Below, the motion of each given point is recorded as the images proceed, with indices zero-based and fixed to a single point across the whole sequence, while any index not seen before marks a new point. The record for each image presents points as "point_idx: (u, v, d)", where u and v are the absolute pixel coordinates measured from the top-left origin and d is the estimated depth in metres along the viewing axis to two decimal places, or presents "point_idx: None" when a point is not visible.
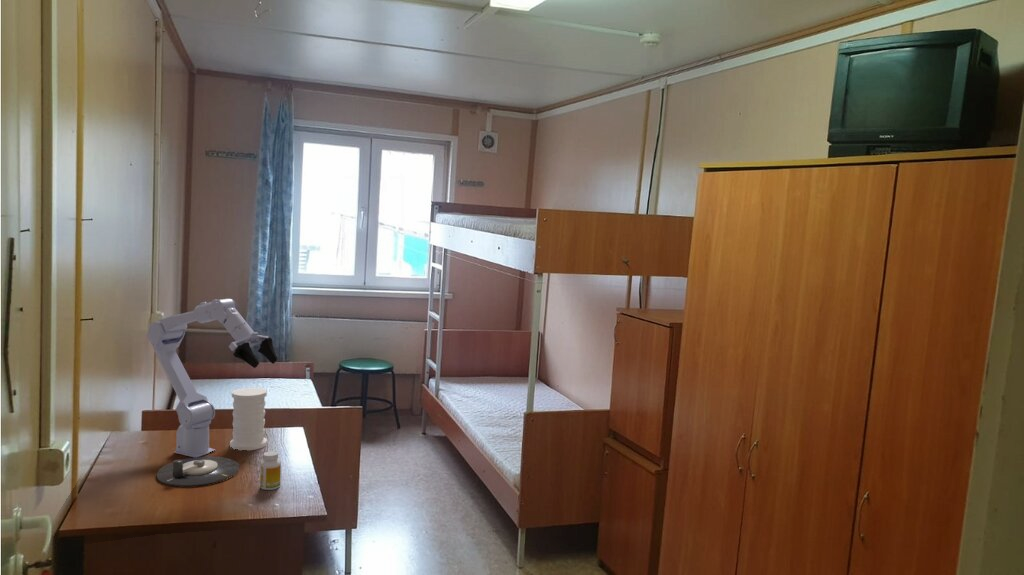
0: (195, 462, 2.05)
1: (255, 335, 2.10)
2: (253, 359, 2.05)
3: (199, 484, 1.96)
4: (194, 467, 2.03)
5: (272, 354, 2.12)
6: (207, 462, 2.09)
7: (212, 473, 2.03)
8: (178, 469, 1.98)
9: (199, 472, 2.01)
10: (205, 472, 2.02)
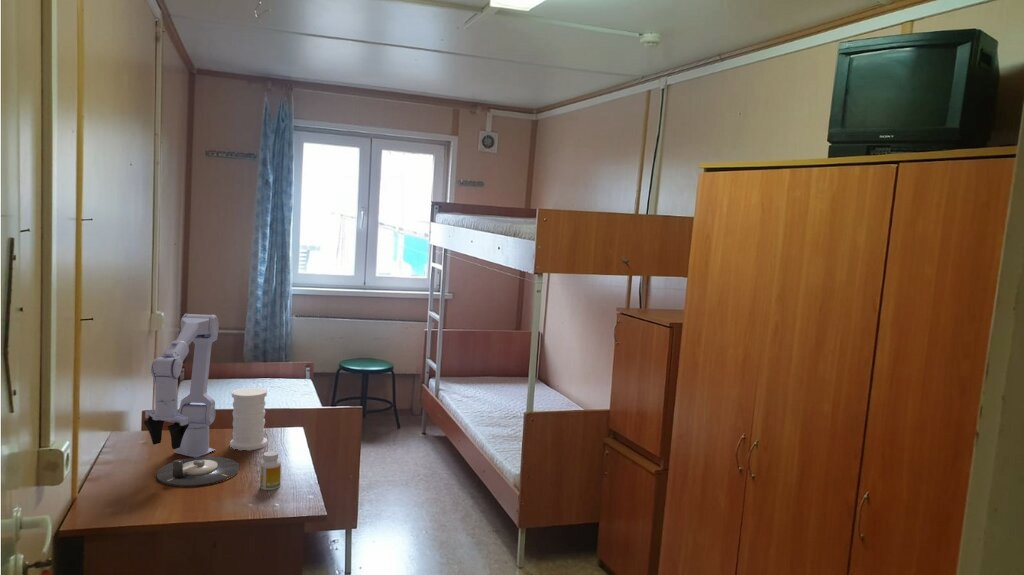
0: (195, 462, 2.05)
1: None
2: None
3: (199, 484, 1.96)
4: (194, 467, 2.03)
5: None
6: (207, 462, 2.09)
7: (212, 473, 2.03)
8: (178, 469, 1.98)
9: (199, 472, 2.01)
10: (205, 472, 2.02)
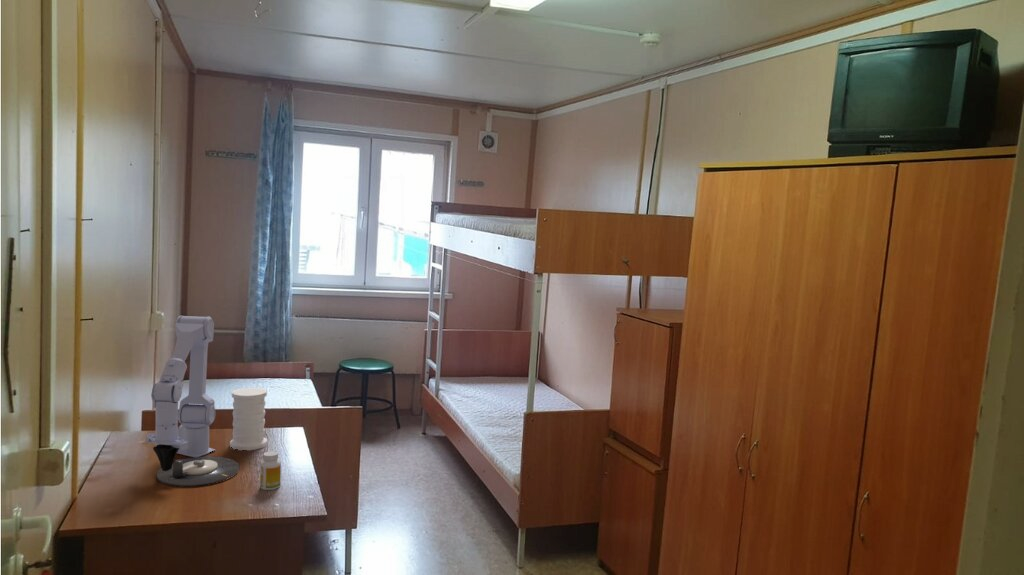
0: (195, 462, 2.05)
1: None
2: None
3: (199, 484, 1.96)
4: (194, 467, 2.03)
5: None
6: (207, 462, 2.09)
7: (212, 473, 2.03)
8: (178, 469, 1.98)
9: (199, 472, 2.01)
10: (205, 472, 2.02)
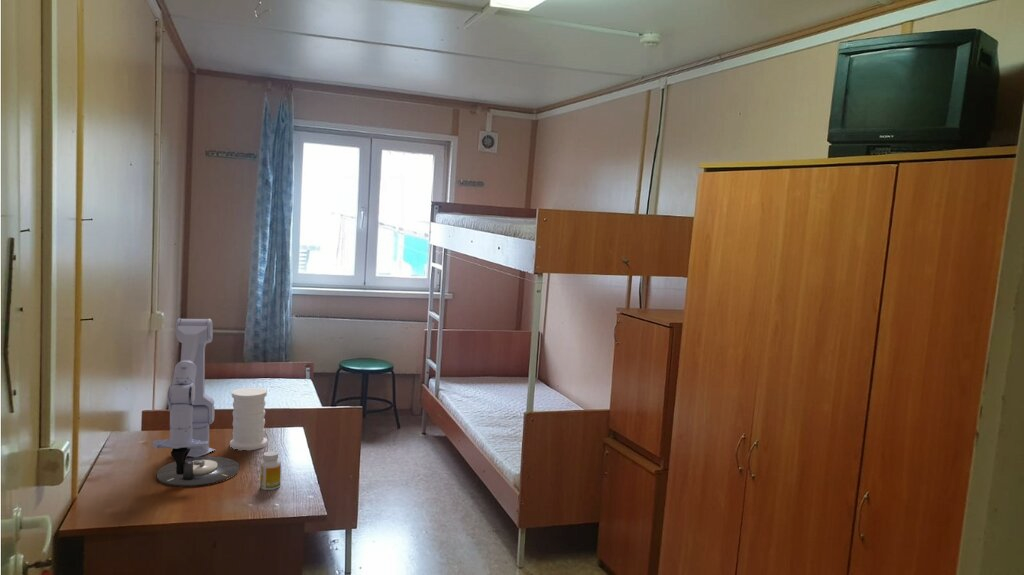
0: (196, 462, 2.05)
1: None
2: None
3: (199, 484, 1.96)
4: (198, 467, 2.04)
5: None
6: None
7: (212, 473, 2.03)
8: (190, 470, 1.98)
9: (207, 471, 2.03)
10: (212, 470, 2.04)
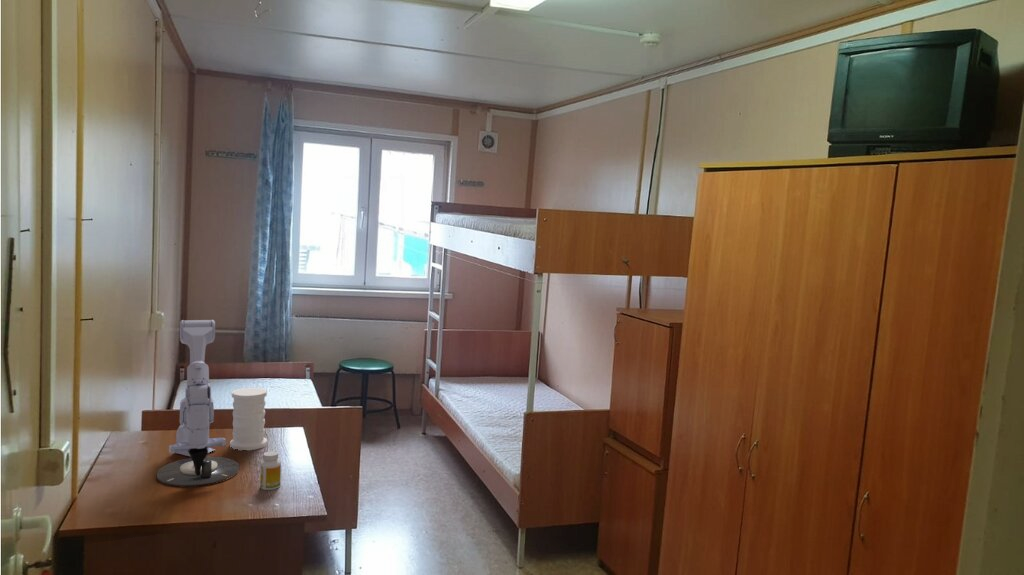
0: None
1: (201, 447, 1.95)
2: (196, 468, 1.98)
3: (199, 484, 1.96)
4: None
5: (197, 468, 1.98)
6: None
7: (212, 473, 2.03)
8: (211, 468, 2.00)
9: (215, 468, 2.06)
10: None
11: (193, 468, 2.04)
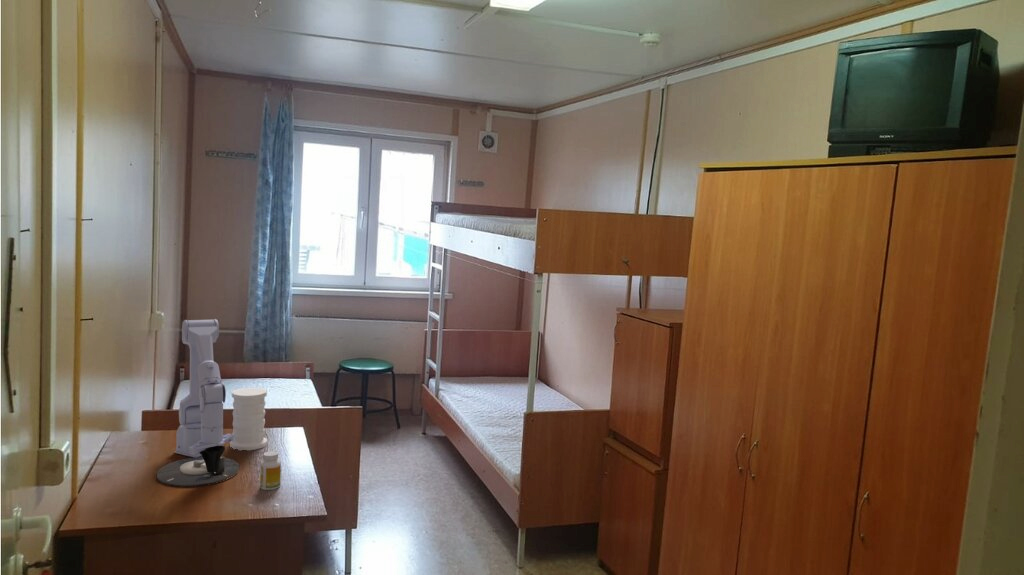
0: (200, 462, 2.05)
1: (221, 444, 1.99)
2: (211, 467, 1.99)
3: (199, 484, 1.96)
4: None
5: (214, 466, 2.00)
6: (190, 463, 2.07)
7: (212, 473, 2.03)
8: None
9: None
10: None
11: (198, 468, 2.04)
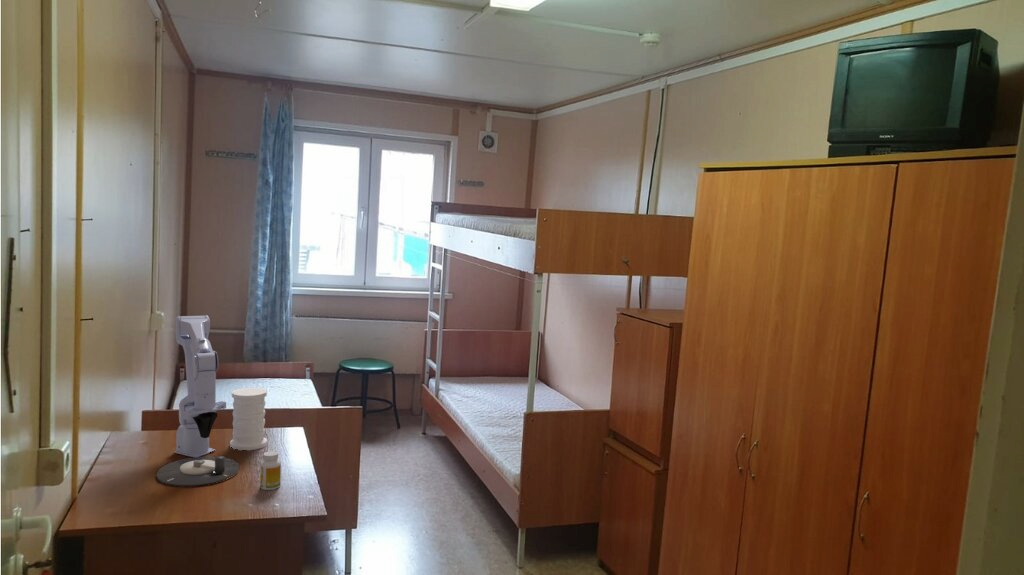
0: (200, 462, 2.05)
1: (213, 410, 2.07)
2: (204, 432, 2.08)
3: (199, 484, 1.96)
4: None
5: None
6: (190, 463, 2.07)
7: (212, 473, 2.03)
8: None
9: None
10: None
11: (198, 468, 2.04)
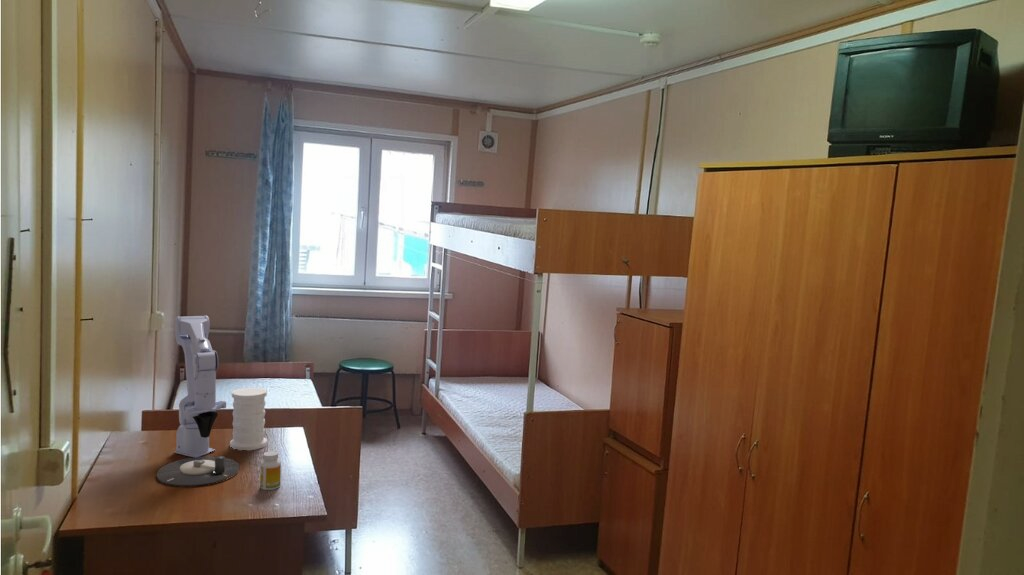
0: (200, 462, 2.05)
1: None
2: (204, 432, 2.08)
3: (199, 484, 1.96)
4: None
5: (207, 431, 2.09)
6: (190, 463, 2.07)
7: (212, 473, 2.03)
8: None
9: None
10: None
11: (198, 468, 2.04)
